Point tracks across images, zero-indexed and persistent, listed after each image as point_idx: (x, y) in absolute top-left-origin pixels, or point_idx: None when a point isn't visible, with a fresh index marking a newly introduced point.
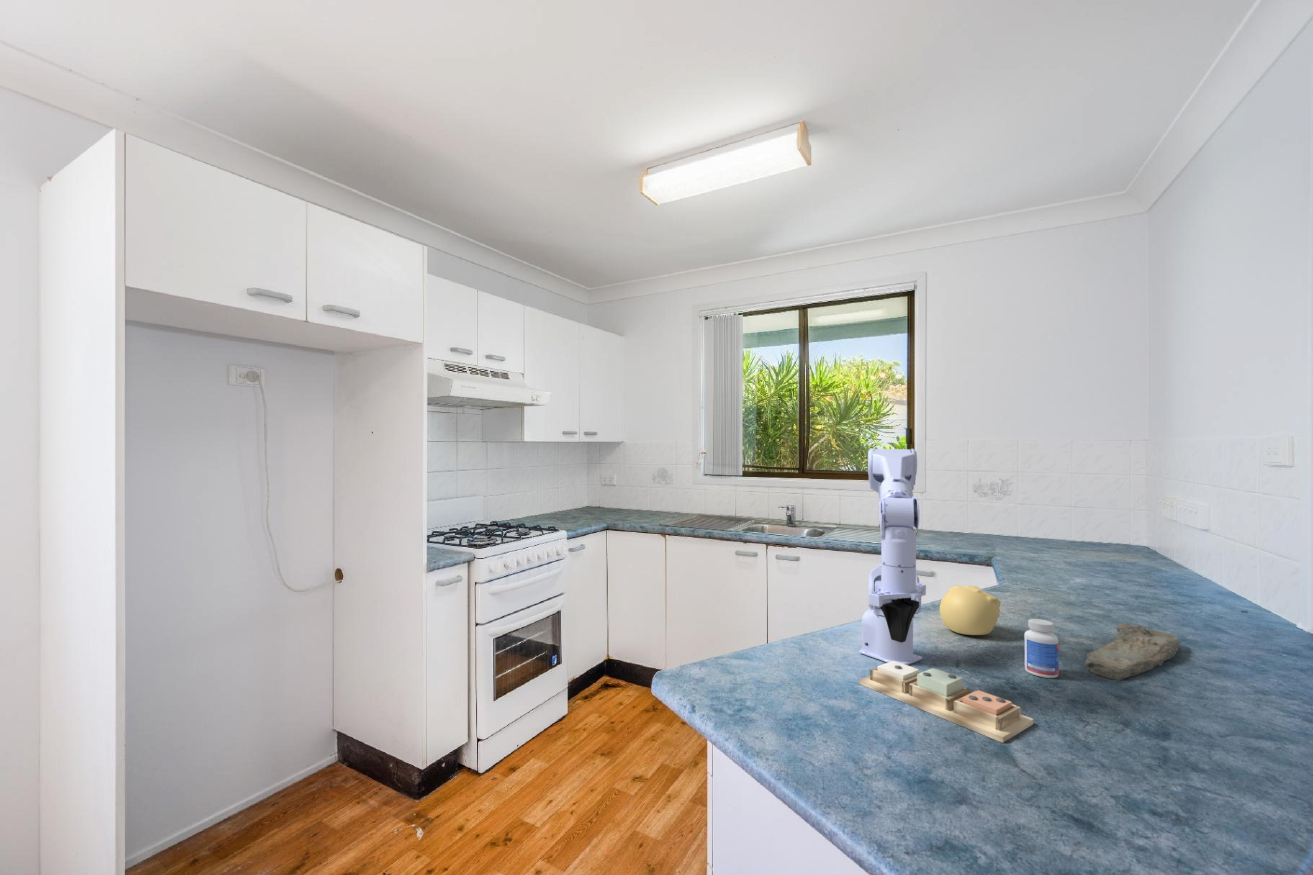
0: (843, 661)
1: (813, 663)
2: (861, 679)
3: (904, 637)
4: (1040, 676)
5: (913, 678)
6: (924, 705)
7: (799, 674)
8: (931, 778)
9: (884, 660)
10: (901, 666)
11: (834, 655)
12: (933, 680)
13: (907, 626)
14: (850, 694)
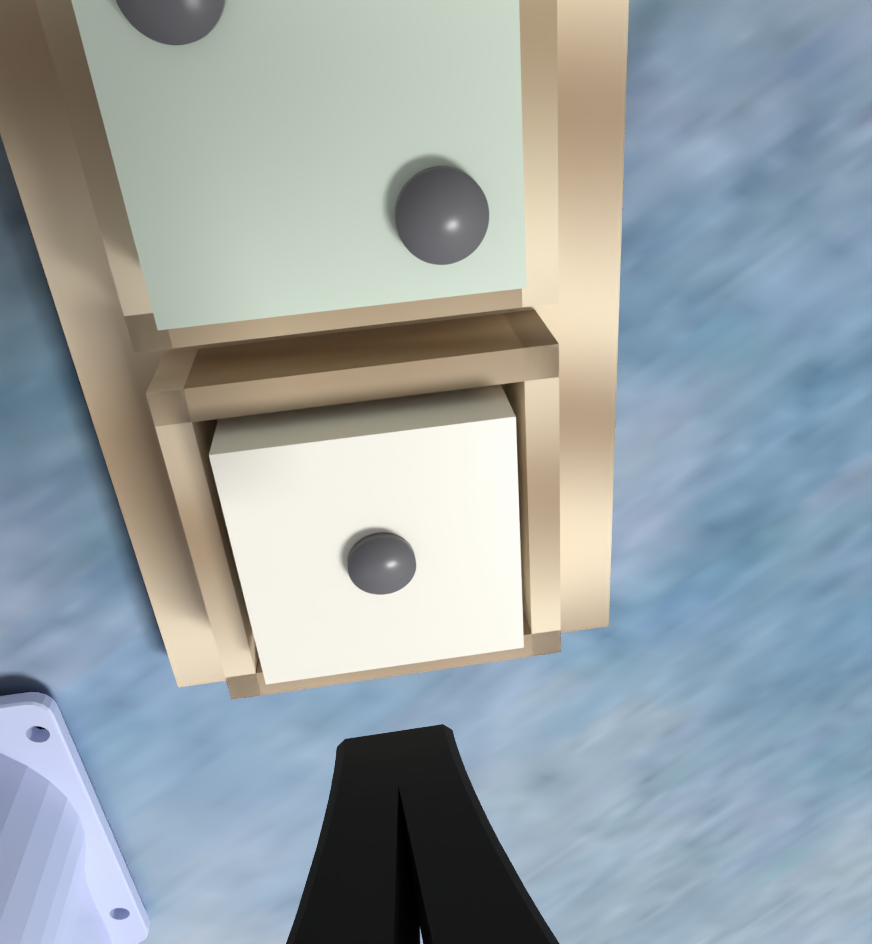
0: None
1: (569, 883)
2: (594, 619)
3: (401, 776)
4: None
5: (384, 378)
6: (621, 42)
7: (782, 804)
8: None
9: (91, 795)
10: (321, 570)
11: None
12: (519, 56)
13: (371, 940)
14: (807, 512)
